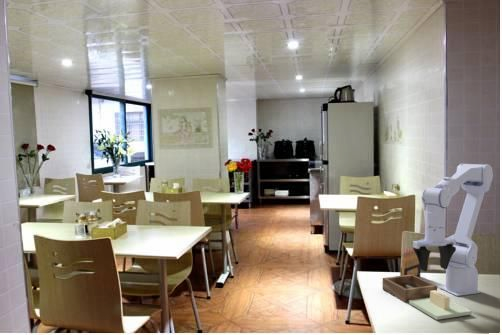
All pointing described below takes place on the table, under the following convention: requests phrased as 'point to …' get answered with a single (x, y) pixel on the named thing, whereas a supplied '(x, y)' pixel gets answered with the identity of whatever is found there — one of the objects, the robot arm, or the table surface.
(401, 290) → the wooden open box
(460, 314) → the lid
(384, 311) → the table surface
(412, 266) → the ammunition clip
